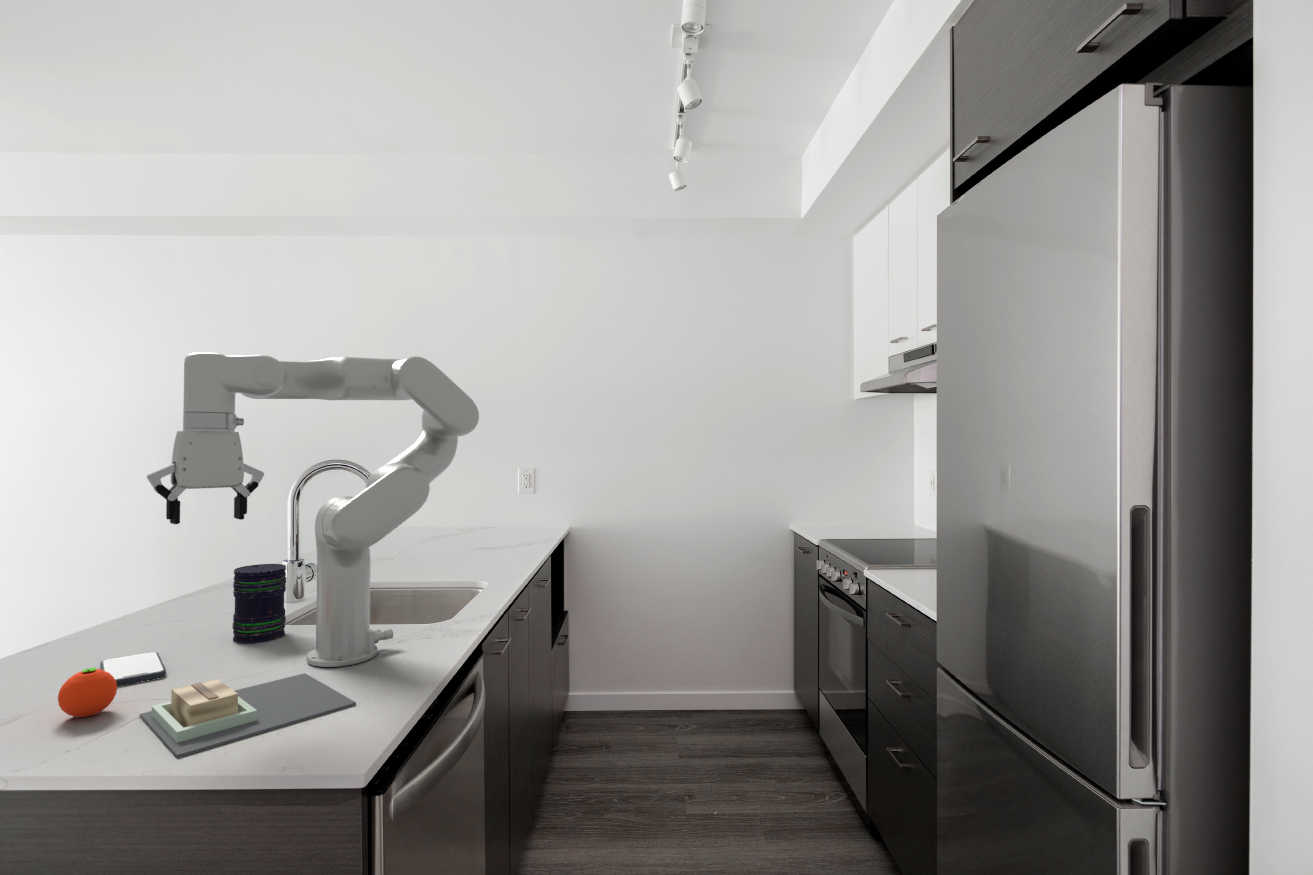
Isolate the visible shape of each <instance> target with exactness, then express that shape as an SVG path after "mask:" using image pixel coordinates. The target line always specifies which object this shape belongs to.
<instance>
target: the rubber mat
mask: <svg viewBox="0 0 1313 875" xmlns="http://www.w3.org/2000/svg"><path fill="white" fill-rule="evenodd" d="M234 691H235V692H236V693H238V696H239V697H240V698H241V699H243V700H244V701H245V702H247V703H248V704H249V705H251V706H252V707H253V708H255V709H256V710H257V720H256V721H253V722H249V723H245V724H242V725H238V726H235V727H231V728H228V729H224V730H221V731H217V732H214V733H210V734H207V735H203V736H200V737H196V738H193V739H189V740H185V741H182V742H178V743H176V741H175V740H174V739H173V738H172V737H171V736H170V735H169V734H168V733H167V732H166V731H165V730H164V729H163V728H162V726H161V725H160V724H159V723H158V722H157V721H156V720H155V719H154V718H153V717H152V710H150V711H146V712H141V713H139V717H140V719H141V720H143V722H144V723H145V725H147V726H148V727H149V729H150V730H151V731H152V732H153V734H155V735H156V736H157V738H158V739H159V740H160V741H161V742H162V743H163V744H164V746H165V747H166V748H167V749H168V750H169V751H170V752H171V753H172V754H173V756H174V757H175V758H177V759H178V758H182V757H185V756H189V755H192V754H195V753H198V752H203V751H206V750H210V749H212V748H215V747H219V746H222V745H226V744H229V743H232V742H236V741H239V740H243V739H245V738H249V737H253V736H256V735H259V734H262V733H266V732H269V731H273V730H276V729H279V728H282V727H286V726H288V725H293V724H296V723H299V722H303V721H307V720H309V719H313V718H316V717H320V716H323V715H326V714H330V713H334V712H336V710H337V711H339V710H344V709H347V708H350V707H353V706H352V705H354V706H356V705H357V702H356V701H355V700H353V699H351V698H350V697H347V696H346V695H344V694H342V693H341V692H339V691H337V690H335V689H333V688H332V687H330V686H328V685H327V684H326V683H325V684H324V683H323V682H321V681H319V680H317V679H316V678H314V677H312V676H311V675H309V674H307V673H306V672H305V673H301V674H296V675H293V676H289V677H288V676H287V677H284V678H280V679H276V680H275V679H274V680H272V681H268V682H264V683H260V684H255V685H251V686H248V687H244V688H239V689H235V690H234ZM355 704H356V705H355ZM349 706H350V707H349ZM346 707H347V708H346ZM333 711H334V712H333ZM170 715H171V713H170ZM319 715H320V716H319ZM179 724H180V723H179ZM180 725H181V724H180ZM181 726H182V725H181ZM182 727H183V726H182ZM183 728H184V727H183Z"/></svg>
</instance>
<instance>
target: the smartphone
mask: <svg viewBox="0 0 1313 875" xmlns="http://www.w3.org/2000/svg"><path fill="white" fill-rule="evenodd" d="M99 664H100V665H99V666H100V667H101V668H100V669H101V670H104V671H106V672H108V673H110V674H111V675H112V676H113V677H114V679H115V680H116V683H117V686H118V687H121V685H123V686H127V684H129V685H132V684H133V683H134V684H138V683H137V682H139V683H142V682H141V681H145V682H148V681H147V680H150V681H154V680H153V679H156V680H158V679H157V678H160V679H162V678H161V677H163V678H165V677H166V676H165V675H167V673H166V672H167V669H166V666H165V665H164V663H163V660H162V659H161V656H160V654H159V652H157V651H151V652H145V653H144V652H143V653H138V654H137V653H136V654H132V655H131V654H130V655H126V656H125V655H124V656H120V657H119V656H118V657H112V658H107V659H104V660H103V659H102V661H100V663H99ZM164 676H165V677H164ZM134 684H133V685H134Z"/></svg>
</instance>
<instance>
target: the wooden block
mask: <svg viewBox="0 0 1313 875" xmlns="http://www.w3.org/2000/svg"><path fill="white" fill-rule="evenodd" d="M170 698H171V701H170V702H171V716H172V717H173V718H174V719H175V720H176V721H177V722H178V723H180V724H181V725H182V726H183V727H188V726H192V725H195V724H199V723H203V722H207V721H210V720H214V719H218V718H221V717H225V716H229V715H232V714H236V713H238V693H236V692H235V690H233V689H232V688H231V687H229V686H228V685H226V683H224V682H222V681H221V680H220V679H218V678H214V679H210V680H206V681H201V682H196V683H193V684H189V685H188V684H187V685H185V686H180V687H179V686H178V687H176V688H171V697H170Z"/></svg>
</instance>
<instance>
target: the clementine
mask: <svg viewBox="0 0 1313 875" xmlns="http://www.w3.org/2000/svg"><path fill="white" fill-rule="evenodd" d="M117 690H118V687H117V683H116V680H115V679H114V677H113V676H112V675H111V674H110V673H108V672H106V671H104V670H101V668H100V669H99V668H96V667H89V668H84V669H83V670H81V671H78V672H76V673H75V674H73V675H72V676H70V677H69V678H67V679H66V681H65V682H64V683H63V684H62V685H61V687H60V689H59V691H58V696H57V702H58V706H59V707H60V709H61V711H62V712H64V713H65V714H66V715H68V716H70V717H73V718H74V717H75V718H86V717H91V716H94V715H97V714H99V713H101V712H103V710H105V709H107V708H108V707H109V705H111V703H112V702H113V701H114V699H115V697H116V695H117Z"/></svg>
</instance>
